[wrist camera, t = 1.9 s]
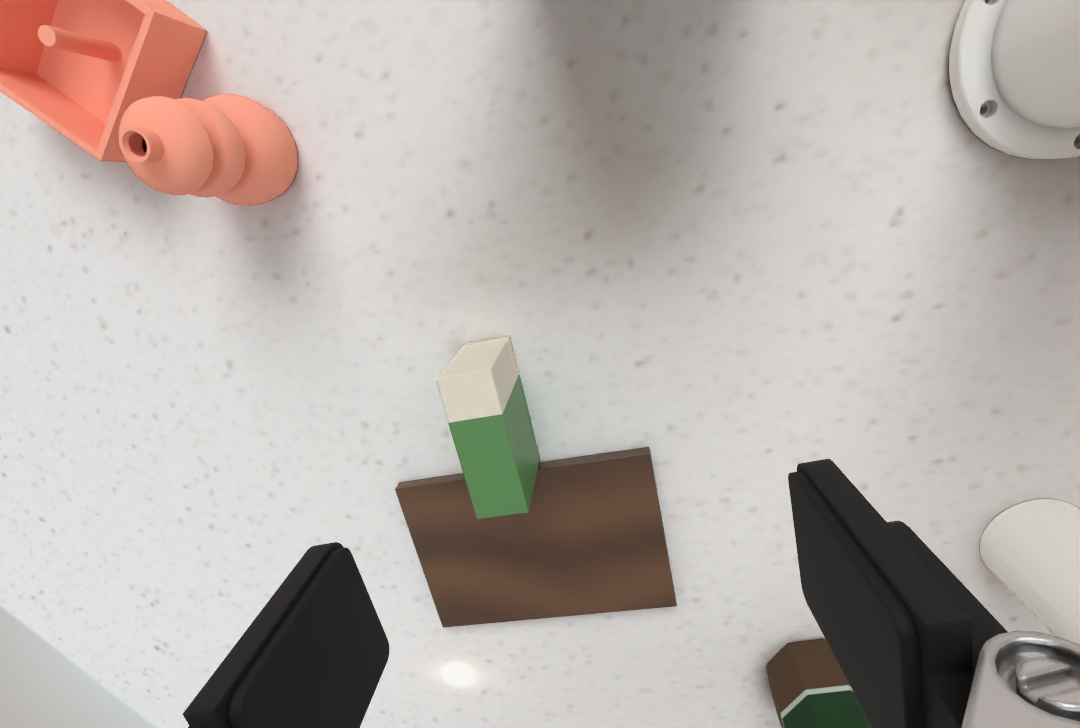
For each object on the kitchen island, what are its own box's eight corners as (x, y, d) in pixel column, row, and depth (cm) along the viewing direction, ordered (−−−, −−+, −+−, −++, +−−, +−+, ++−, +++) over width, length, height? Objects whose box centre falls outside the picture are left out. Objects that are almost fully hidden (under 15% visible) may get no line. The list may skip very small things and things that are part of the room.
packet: (463, 344, 38) (434, 378, 32) (509, 335, 38) (490, 368, 31) (496, 465, 41) (477, 519, 35) (540, 458, 41) (528, 512, 34)
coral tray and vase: (33, 77, 35) (-167, 42, 26) (75, -67, 32) (-134, -164, 23) (267, 242, 37) (159, 263, 28) (328, 121, 34) (229, 101, 25)
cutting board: (399, 482, 43) (394, 489, 42) (648, 446, 40) (650, 453, 39) (445, 618, 47) (442, 627, 46) (675, 597, 44) (676, 606, 43)
